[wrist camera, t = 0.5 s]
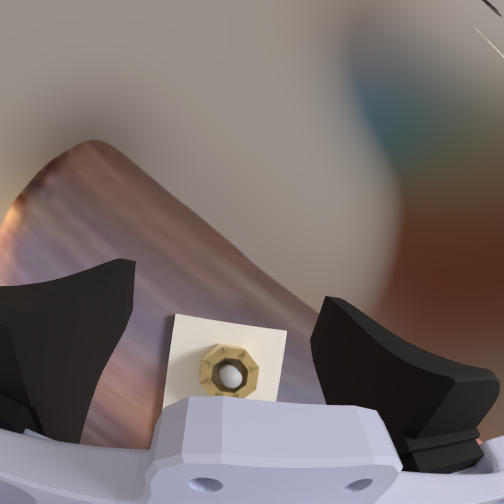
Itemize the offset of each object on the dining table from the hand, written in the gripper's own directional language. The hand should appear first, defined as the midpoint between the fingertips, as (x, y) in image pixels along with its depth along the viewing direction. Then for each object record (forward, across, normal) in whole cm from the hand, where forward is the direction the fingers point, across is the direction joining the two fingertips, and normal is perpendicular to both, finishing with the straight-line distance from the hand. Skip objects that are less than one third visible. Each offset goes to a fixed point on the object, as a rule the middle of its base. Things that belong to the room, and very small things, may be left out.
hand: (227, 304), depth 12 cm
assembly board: (+15, -2, +21) cm, 25 cm away
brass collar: (+16, -2, +17) cm, 23 cm away
